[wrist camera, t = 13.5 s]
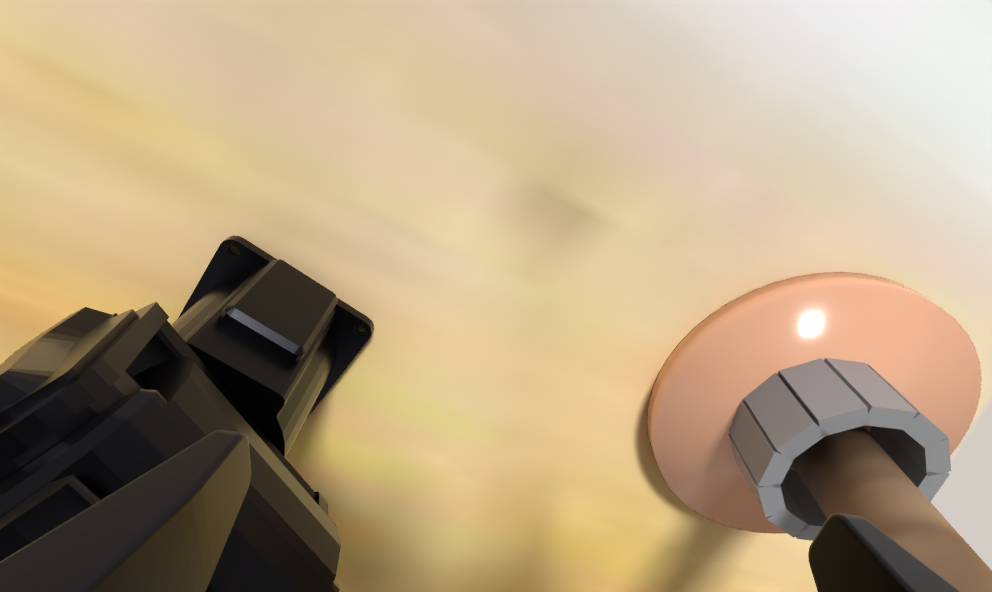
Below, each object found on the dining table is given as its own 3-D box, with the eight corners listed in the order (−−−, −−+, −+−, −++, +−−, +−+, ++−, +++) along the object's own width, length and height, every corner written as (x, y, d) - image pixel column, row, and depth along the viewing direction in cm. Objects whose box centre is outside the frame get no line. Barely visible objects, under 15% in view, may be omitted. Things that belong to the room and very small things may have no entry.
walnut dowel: (779, 460, 23) (1051, 893, 12) (769, 408, 22) (1063, 834, 10) (851, 443, 23) (1214, 878, 11) (846, 388, 21) (1247, 813, 10)
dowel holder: (775, 549, 27) (817, 631, 24) (586, 425, 24) (601, 498, 20) (1020, 388, 23) (1122, 459, 19) (828, 205, 19) (906, 248, 16)
